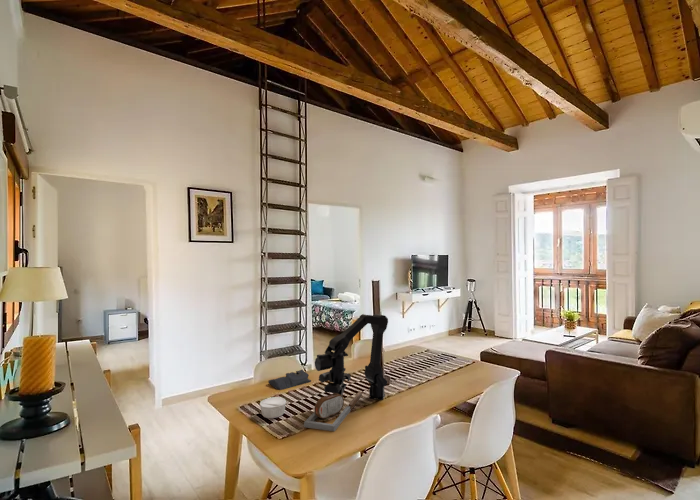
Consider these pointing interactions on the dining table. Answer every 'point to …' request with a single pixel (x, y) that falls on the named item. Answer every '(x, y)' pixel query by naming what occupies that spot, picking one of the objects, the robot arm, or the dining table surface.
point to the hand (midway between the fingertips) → (338, 401)
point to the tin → (329, 405)
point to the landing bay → (326, 426)
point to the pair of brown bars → (355, 400)
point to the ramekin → (273, 407)
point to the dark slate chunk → (290, 380)
